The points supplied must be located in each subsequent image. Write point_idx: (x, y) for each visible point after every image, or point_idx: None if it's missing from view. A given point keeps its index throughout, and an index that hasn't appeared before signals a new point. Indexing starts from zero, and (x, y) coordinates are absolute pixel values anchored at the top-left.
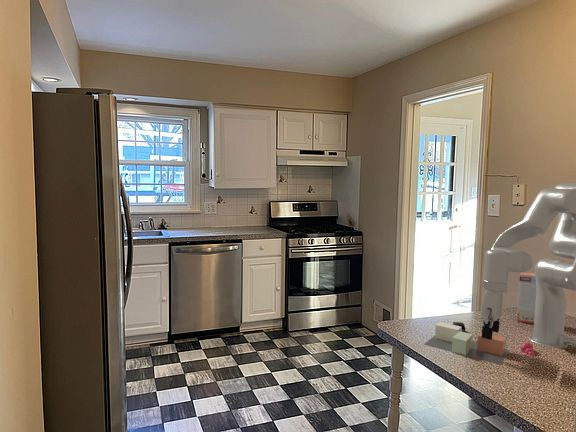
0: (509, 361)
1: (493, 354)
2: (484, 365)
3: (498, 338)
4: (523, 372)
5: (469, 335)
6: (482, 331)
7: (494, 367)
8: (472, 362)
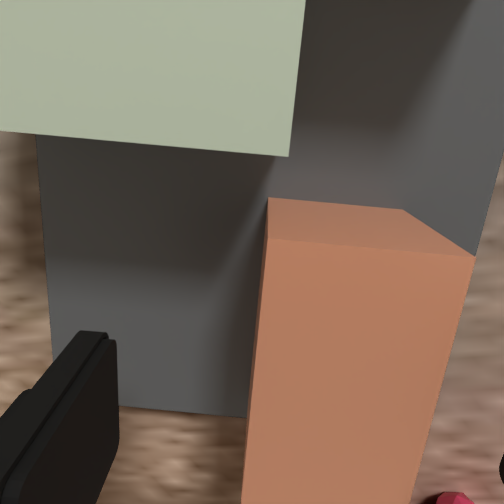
0: (232, 424)
1: (236, 337)
2: (23, 287)
3: (320, 467)
4: (100, 499)
5: (192, 118)
6: (33, 398)
7: (43, 351)
8: (9, 196)
